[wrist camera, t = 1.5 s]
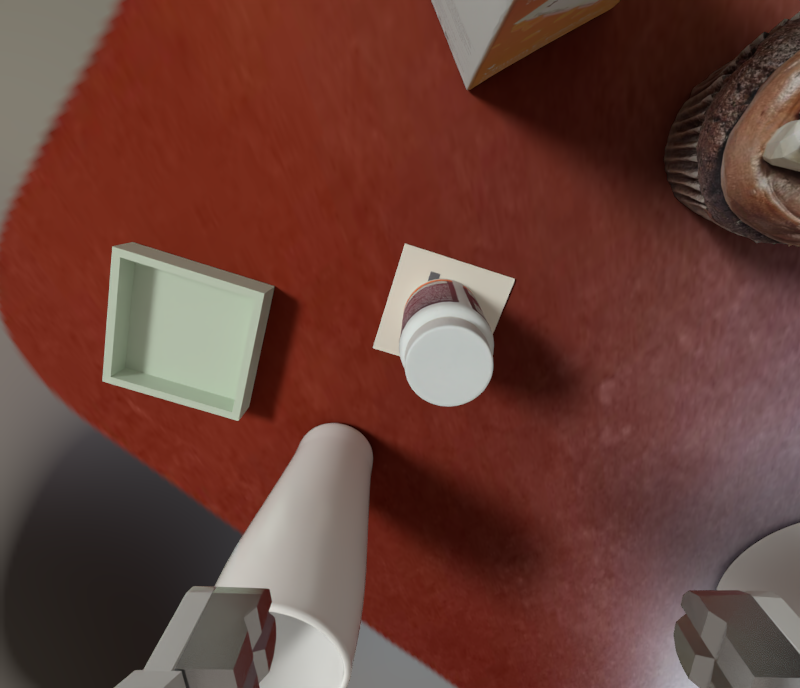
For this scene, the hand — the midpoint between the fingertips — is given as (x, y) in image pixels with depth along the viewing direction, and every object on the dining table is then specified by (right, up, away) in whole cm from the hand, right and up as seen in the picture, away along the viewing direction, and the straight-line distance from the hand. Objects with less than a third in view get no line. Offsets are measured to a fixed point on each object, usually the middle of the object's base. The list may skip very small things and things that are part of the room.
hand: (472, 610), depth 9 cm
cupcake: (+17, +16, +15) cm, 28 cm away
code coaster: (+1, +7, +19) cm, 20 cm away
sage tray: (-15, +6, +20) cm, 26 cm away
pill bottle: (+1, +7, +19) cm, 20 cm away
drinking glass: (-6, -2, +23) cm, 24 cm away
